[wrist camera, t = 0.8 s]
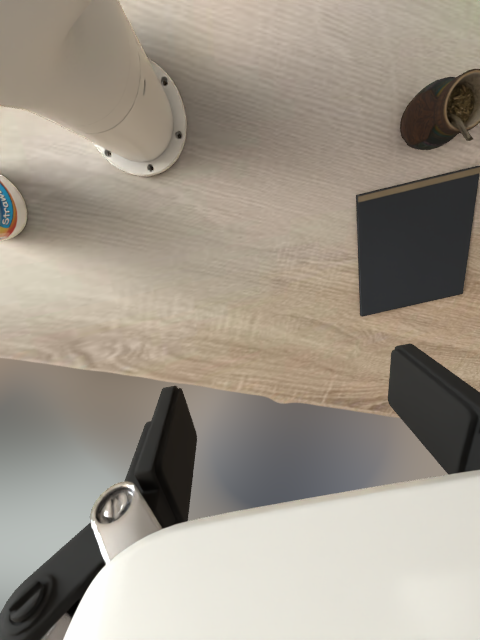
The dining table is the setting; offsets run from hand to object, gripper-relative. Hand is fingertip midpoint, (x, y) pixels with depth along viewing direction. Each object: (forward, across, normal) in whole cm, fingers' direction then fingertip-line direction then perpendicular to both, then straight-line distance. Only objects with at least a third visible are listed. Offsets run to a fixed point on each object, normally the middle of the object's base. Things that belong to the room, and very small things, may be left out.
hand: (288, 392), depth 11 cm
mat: (+33, -28, +3) cm, 43 cm away
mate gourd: (+33, -27, -14) cm, 45 cm away
